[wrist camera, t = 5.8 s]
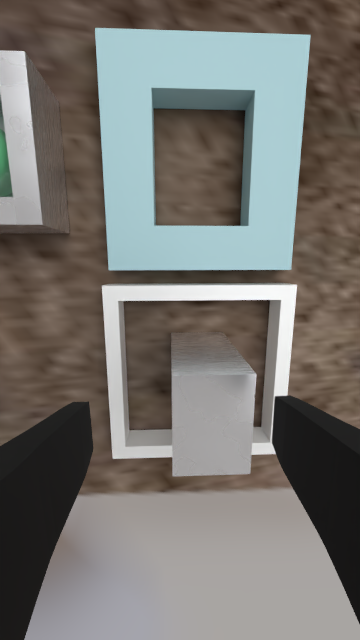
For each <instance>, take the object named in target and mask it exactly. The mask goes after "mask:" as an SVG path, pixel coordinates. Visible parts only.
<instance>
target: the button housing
mask: <svg viewBox="0 0 360 640" xmlns="http://www.w3.org/2000/svg"><path fill="white" fill-rule="evenodd" d="M0 129H2V130H3V131H4V132H5V135H6V143H7V151H8V159H9V168H10V176H11V184H12V193H10V194H8V195H6V196H4V197H0V233H70V230H69V218H68V206H67V194H66V182H65V170H64V158H63V146H62V134H61V122H60V110H59V101H58V100H57V98H56V97H55V95H54V94H53V93H52V91H51V90H50V88H49V87H48V85H47V84H46V82H45V81H44V79H43V78H42V76H41V75H40V73H39V72H38V70H37V69H36V67H35V66H34V64H33V63H32V61H31V60H30V58H29V57H28V56H27V54H26V53H25V51H0Z"/></svg>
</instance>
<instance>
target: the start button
mask: <svg viewBox="0 0 360 640" xmlns="http://www.w3.org/2000/svg"><path fill="white" fill-rule="evenodd" d="M10 193H12V184H11V176H10V168H9V159H8V151H7V143H6V135H5V132H4V131H3V130H2V129H0V197H4V196H6V195H8V194H10Z"/></svg>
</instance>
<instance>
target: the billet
mask: <svg viewBox="0 0 360 640" xmlns="http://www.w3.org/2000/svg"><path fill="white" fill-rule="evenodd" d="M171 385H172V463H173V476H200V475H232V474H250V468H251V452H252V436H253V420H254V404H255V387H256V373H255V372H254V371H253V369H252V368H251V367H250V366H249V364H248V363H247V362H246V361H245V359H244V358H243V357H242V356H241V354H240V353H239V352H238V351H237V349H236V348H235V347H234V346H233V344H232V343H231V342H230V340H229V339H228V338H227V337H226V335H225V334H224V333H223V332H188V333H171Z"/></svg>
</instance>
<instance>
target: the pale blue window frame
mask: <svg viewBox="0 0 360 640" xmlns="http://www.w3.org/2000/svg"><path fill="white" fill-rule="evenodd" d="M95 36H96V54H97V71H98V89H99V107H100V124H101V142H102V160H103V178H104V195H105V213H106V231H107V248H108V266H109V270H291V263H292V251H293V239H294V227H295V215H296V203H297V191H298V179H299V167H300V155H301V143H302V131H303V119H304V107H305V95H306V83H307V71H308V58H309V46H310V35H297V34H266V33H236V32H205V31H174V30H143V29H113V28H95ZM153 108H163V109H211V110H245V129H244V152H243V176H242V199H241V222H240V226H156V210H155V159H154V109H153Z"/></svg>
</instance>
